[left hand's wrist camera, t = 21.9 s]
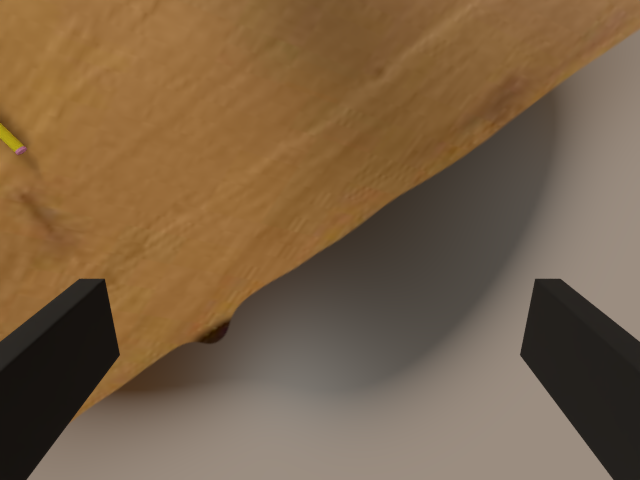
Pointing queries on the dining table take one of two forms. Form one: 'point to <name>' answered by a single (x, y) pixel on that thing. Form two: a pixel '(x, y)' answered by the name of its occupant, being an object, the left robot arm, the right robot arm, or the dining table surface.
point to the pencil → (11, 141)
